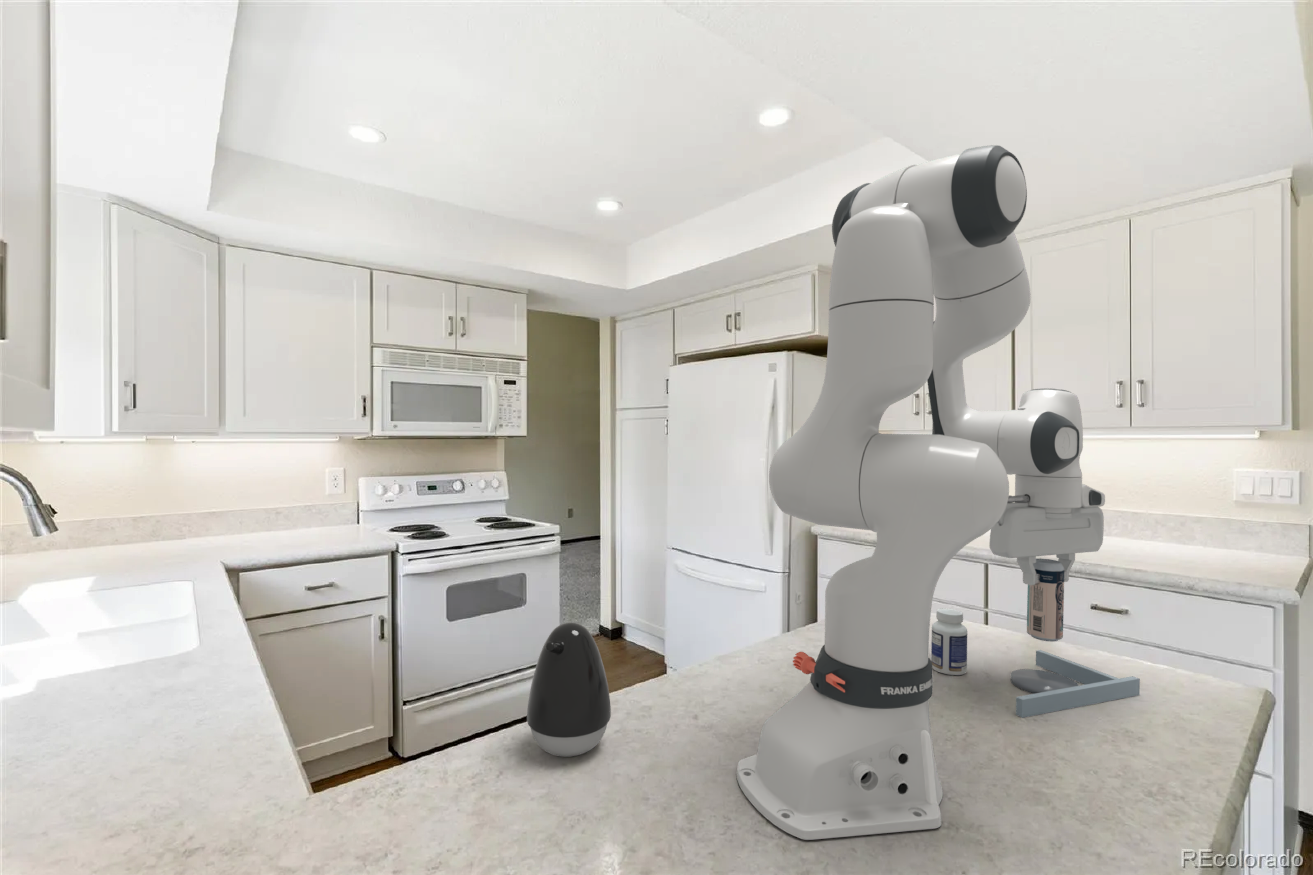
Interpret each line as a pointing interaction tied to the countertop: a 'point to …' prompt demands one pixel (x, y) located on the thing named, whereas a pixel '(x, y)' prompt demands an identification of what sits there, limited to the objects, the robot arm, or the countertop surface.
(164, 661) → the countertop surface
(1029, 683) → the coaster
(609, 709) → the black egg-shaped tumbler
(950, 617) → the pill bottle
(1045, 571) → the beer can
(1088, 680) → the divider wall
